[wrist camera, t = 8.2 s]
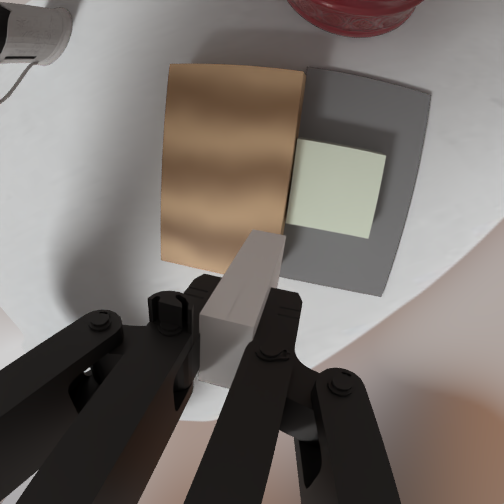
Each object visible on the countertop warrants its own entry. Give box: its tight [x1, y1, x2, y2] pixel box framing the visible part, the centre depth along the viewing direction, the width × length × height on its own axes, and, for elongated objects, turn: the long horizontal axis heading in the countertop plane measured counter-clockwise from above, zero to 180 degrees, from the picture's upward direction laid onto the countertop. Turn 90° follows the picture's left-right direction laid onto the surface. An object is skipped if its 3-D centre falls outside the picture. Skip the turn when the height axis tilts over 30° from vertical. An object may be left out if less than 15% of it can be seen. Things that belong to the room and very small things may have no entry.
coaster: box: [286, 137, 386, 239], centre depth 29 cm, size 8×8×2 cm
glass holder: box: [0, 2, 72, 104], centre depth 23 cm, size 9×14×15 cm, turn 172°
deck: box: [161, 64, 306, 274], centre depth 30 cm, size 20×12×4 cm, turn 173°
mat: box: [279, 67, 431, 297], centre depth 30 cm, size 22×12×1 cm, turn 173°
